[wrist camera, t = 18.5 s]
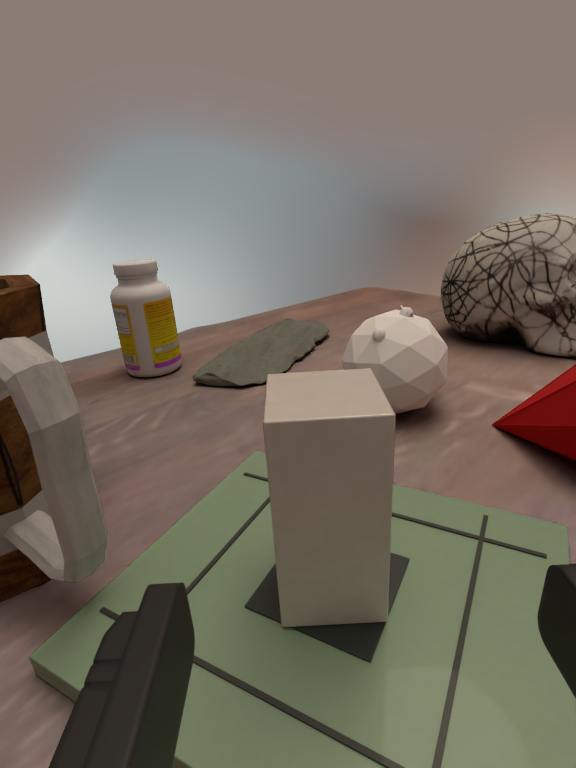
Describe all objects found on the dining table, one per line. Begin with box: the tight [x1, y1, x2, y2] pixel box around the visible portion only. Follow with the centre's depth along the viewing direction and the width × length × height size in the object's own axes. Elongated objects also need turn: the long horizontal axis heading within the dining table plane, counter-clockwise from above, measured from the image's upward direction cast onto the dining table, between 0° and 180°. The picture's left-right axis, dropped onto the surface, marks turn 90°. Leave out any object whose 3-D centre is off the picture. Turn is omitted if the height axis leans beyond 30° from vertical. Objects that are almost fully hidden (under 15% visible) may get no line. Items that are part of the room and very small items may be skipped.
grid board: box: [29, 451, 576, 768], centre depth 22 cm, size 20×18×1 cm
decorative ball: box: [342, 305, 448, 414], centre depth 39 cm, size 9×11×12 cm
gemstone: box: [492, 365, 576, 462], centre depth 33 cm, size 9×9×10 cm
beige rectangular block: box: [263, 368, 396, 627], centre depth 19 cm, size 5×5×10 cm
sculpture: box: [441, 213, 576, 357], centre depth 54 cm, size 15×20×15 cm
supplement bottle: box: [110, 259, 182, 377], centre depth 52 cm, size 7×7×13 cm
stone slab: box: [193, 319, 330, 386], centre depth 56 cm, size 22×3×10 cm
